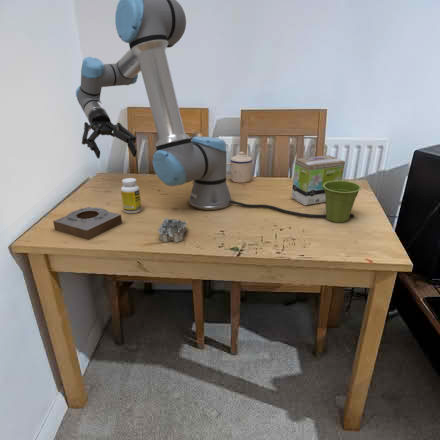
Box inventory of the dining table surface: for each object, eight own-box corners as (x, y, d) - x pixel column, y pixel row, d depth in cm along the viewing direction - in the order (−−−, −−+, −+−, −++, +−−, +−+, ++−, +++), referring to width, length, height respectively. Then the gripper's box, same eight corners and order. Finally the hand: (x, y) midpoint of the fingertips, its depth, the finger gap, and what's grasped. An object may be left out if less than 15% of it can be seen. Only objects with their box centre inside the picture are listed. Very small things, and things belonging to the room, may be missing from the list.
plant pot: (311, 215, 140) (315, 183, 134) (340, 210, 144) (345, 178, 138) (333, 228, 131) (338, 193, 125) (362, 222, 135) (369, 188, 129)
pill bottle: (139, 214, 143) (136, 182, 137) (122, 214, 143) (117, 182, 137) (143, 207, 148) (139, 177, 142) (126, 207, 148) (122, 177, 143)
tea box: (305, 206, 148) (310, 165, 140) (290, 198, 155) (294, 158, 148) (339, 200, 153) (346, 160, 145) (323, 192, 161) (328, 153, 153)
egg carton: (181, 243, 123) (180, 230, 120) (157, 242, 123) (155, 229, 121) (188, 228, 132) (187, 216, 129) (165, 227, 132) (164, 215, 130)
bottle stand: (124, 222, 137) (123, 213, 135) (88, 239, 125) (86, 230, 124) (89, 213, 144) (88, 205, 142) (52, 229, 132) (50, 220, 131)
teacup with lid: (250, 176, 179) (251, 149, 173) (252, 183, 172) (253, 154, 165) (223, 177, 179) (223, 149, 173) (223, 183, 172) (223, 155, 165)
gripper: (127, 125, 164) (147, 161, 156) (63, 125, 151) (81, 164, 143) (130, 108, 159) (151, 145, 150) (64, 107, 146) (83, 146, 137)
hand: (117, 154), depth 147 cm, fingers open, 13 cm apart
